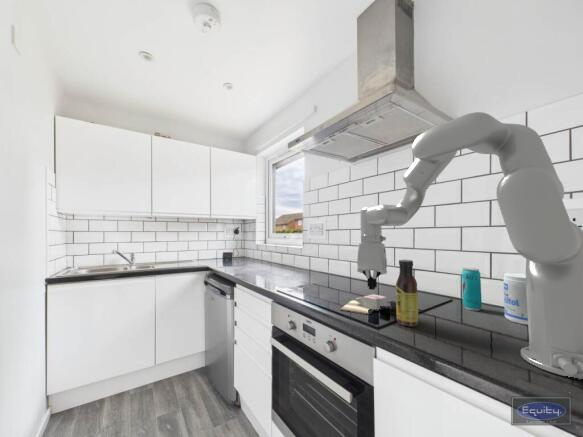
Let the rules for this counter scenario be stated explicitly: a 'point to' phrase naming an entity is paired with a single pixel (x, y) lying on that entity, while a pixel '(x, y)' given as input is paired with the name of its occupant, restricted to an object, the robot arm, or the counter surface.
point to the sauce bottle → (406, 295)
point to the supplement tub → (515, 298)
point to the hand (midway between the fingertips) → (372, 288)
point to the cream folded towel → (355, 307)
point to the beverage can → (471, 289)
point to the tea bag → (372, 301)
